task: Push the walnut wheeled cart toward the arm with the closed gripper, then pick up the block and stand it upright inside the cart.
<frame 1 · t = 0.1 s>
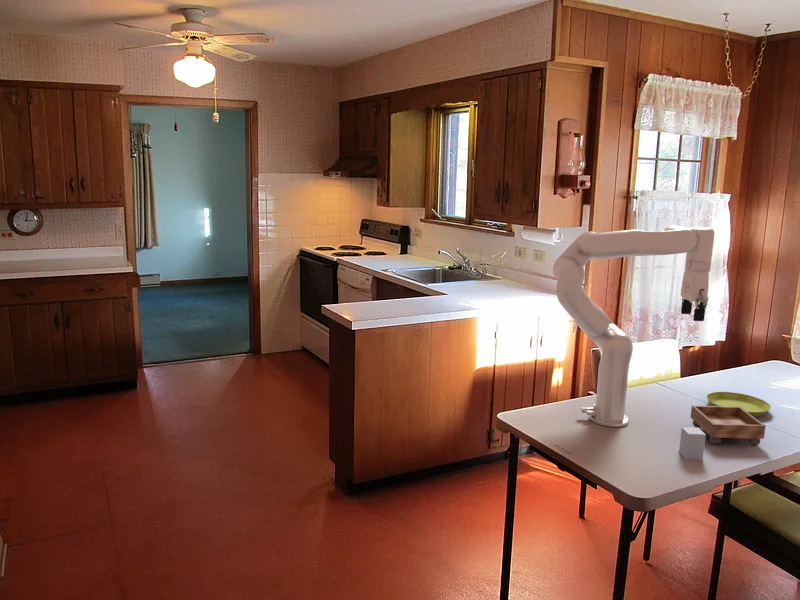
hand: (692, 317, 212), 37 cm above the table, tool pointing down, fingers open, 9 cm apart
saucer: (736, 410, 233), on the table
block: (690, 455, 194), on the table
cart: (725, 425, 208), point 4 cm above the table, slide at 0.0 cm
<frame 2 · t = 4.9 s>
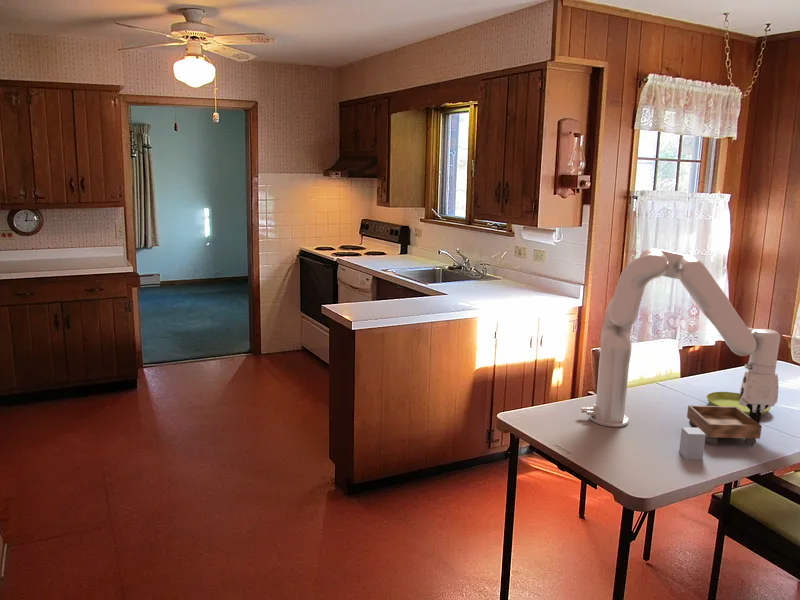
hand: (754, 422, 208), 5 cm above the table, tool pointing down, fingers closed
cart: (722, 425, 208), point 4 cm above the table, slide at 1.2 cm, touching gripper
everything else where it was.
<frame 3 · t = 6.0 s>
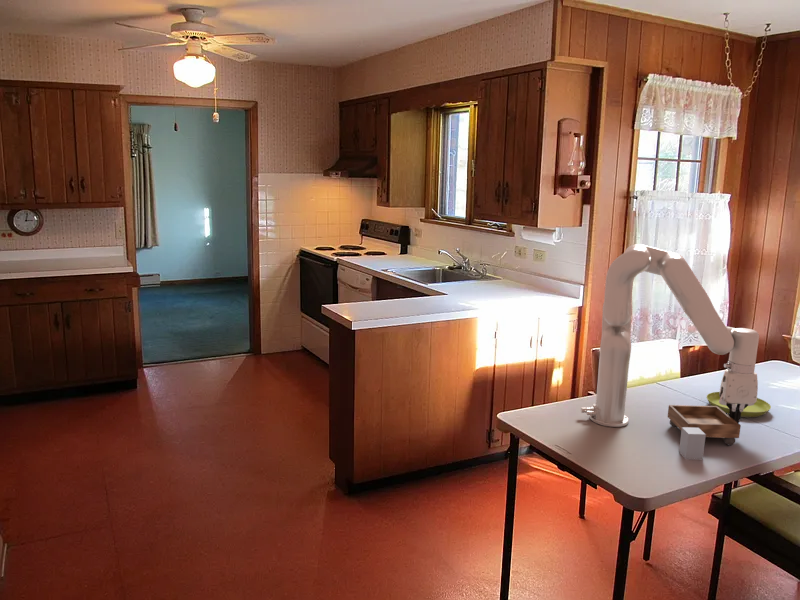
hand: (733, 421, 208), 5 cm above the table, tool pointing down, fingers closed
cart: (702, 425, 208), point 4 cm above the table, slide at 7.6 cm, touching gripper
everything else where it was.
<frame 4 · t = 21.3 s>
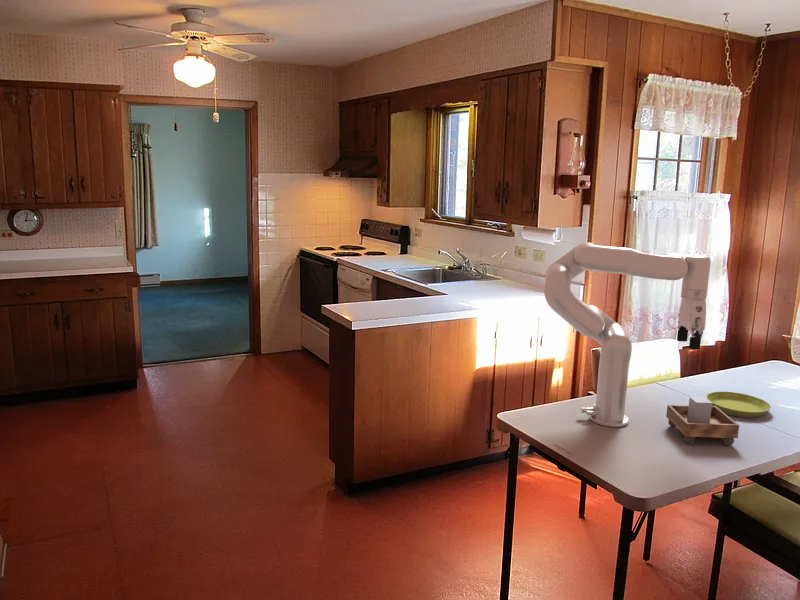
hand: (687, 345, 210), 28 cm above the table, tool pointing down, fingers open, 9 cm apart
block: (697, 423, 208), point 4 cm above the table, touching cart
cart: (700, 425, 208), point 4 cm above the table, slide at 8.0 cm, touching block
everything else where it was.
at the end: cart slide at 8.0 cm; block inside the target area (0.1 cm from its centre), point 4.2 cm above the table; block tilted 0° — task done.
